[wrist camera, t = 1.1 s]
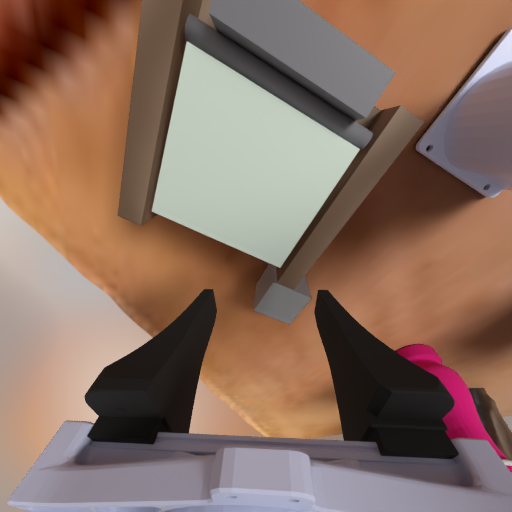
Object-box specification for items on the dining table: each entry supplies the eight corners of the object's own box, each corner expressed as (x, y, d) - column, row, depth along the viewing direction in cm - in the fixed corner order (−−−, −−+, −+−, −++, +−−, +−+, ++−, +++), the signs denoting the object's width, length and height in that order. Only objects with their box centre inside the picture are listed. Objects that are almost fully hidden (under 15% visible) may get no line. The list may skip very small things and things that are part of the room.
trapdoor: (391, 96, 10) (416, 88, 9) (281, 262, 16) (283, 276, 14) (207, -35, 8) (192, -80, 7) (155, 205, 14) (140, 214, 12)
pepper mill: (408, 373, 33) (560, 621, 16) (377, 360, 32) (507, 617, 15) (448, 351, 30) (692, 635, 13) (415, 335, 28) (641, 632, 11)
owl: (443, 418, 41) (571, 618, 24) (385, 411, 41) (472, 609, 23) (488, 388, 35) (707, 633, 17) (419, 379, 34) (575, 621, 17)
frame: (365, 129, 16) (424, 121, 10) (286, 249, 22) (293, 290, 16) (202, 22, 13) (150, -73, 7) (163, 192, 20) (117, 215, 14)
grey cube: (304, 272, 24) (311, 298, 20) (285, 297, 26) (289, 324, 22) (272, 258, 23) (273, 282, 19) (255, 284, 25) (253, 310, 21)
